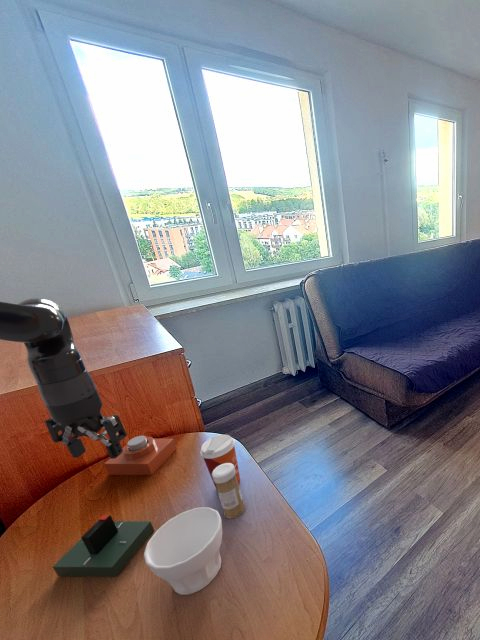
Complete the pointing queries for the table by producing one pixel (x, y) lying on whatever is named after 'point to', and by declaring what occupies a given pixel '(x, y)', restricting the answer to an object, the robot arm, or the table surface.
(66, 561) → the dial panel
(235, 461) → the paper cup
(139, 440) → the grey push button
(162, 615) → the table surface
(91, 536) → the dial knob
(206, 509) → the cup
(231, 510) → the sprinkles bottle
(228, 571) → the table surface
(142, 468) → the domed button plate
